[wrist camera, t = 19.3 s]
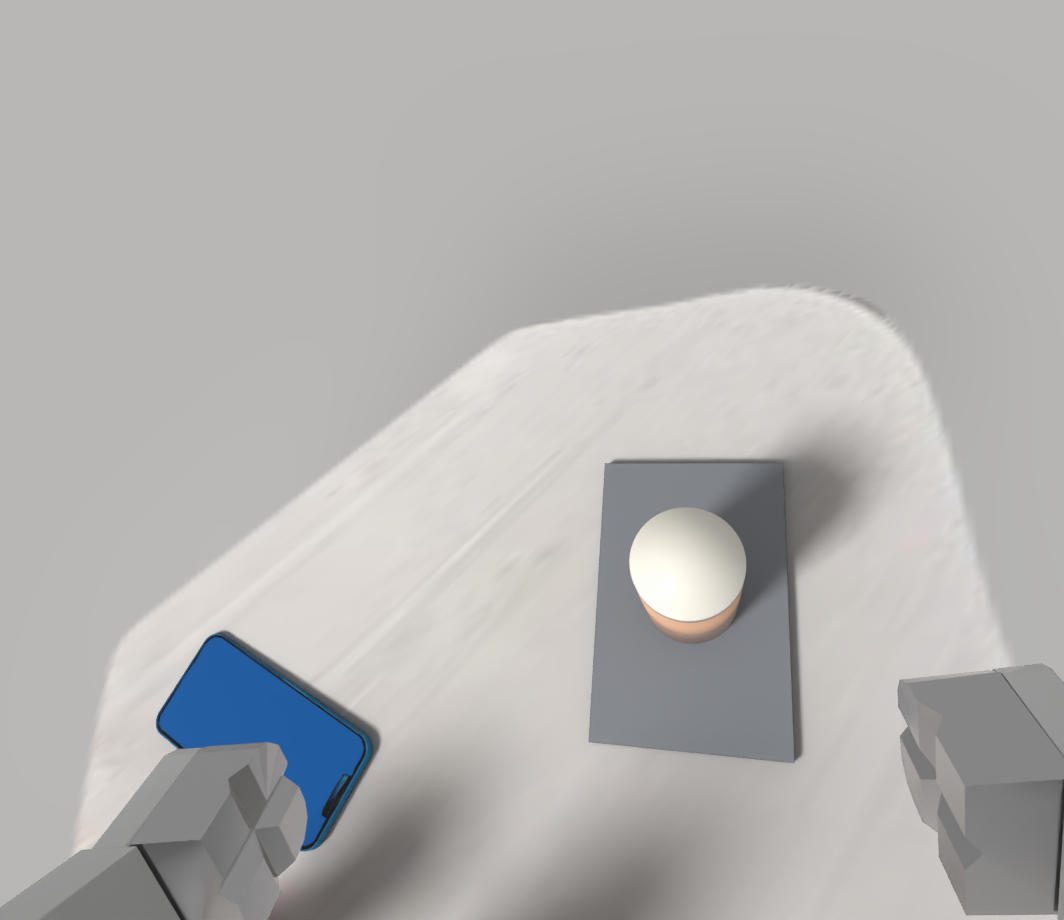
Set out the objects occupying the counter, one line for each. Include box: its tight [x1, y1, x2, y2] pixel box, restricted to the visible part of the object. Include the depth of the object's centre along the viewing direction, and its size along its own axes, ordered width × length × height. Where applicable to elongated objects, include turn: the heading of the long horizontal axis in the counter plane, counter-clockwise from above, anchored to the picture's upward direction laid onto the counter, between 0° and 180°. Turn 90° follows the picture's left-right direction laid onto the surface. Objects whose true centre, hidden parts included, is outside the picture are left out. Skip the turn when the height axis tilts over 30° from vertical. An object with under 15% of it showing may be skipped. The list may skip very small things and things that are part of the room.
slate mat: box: [589, 463, 794, 763], centre depth 42 cm, size 17×11×1 cm, turn 175°
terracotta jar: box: [629, 507, 746, 644], centre depth 38 cm, size 6×6×8 cm
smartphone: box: [156, 634, 372, 851], centre depth 45 cm, size 7×1×15 cm
